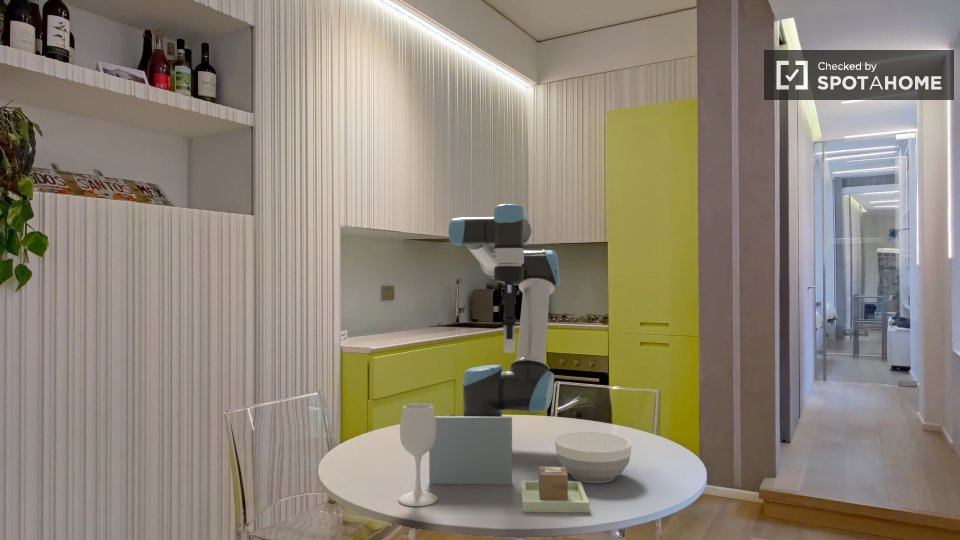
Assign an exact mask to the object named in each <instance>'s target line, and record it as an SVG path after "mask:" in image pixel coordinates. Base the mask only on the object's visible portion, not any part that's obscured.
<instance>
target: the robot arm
mask: <svg viewBox="0 0 960 540" xmlns="http://www.w3.org/2000/svg"><path fill="white" fill-rule="evenodd" d="M493 211H494V212H493V216H487V217H486V216H483V217H481V216H480V217H477V216H475V217H474V216H473V217H472V216H471V217H467V216H466V217H464V216H462V217H455V218H452V219H451V220H450V221H449V224H448V229H447V230H448V233H447V234H448V239H449V243H450V244H451V245H454V246H460V247H461V246H465V247H466V248H467V250H468V251H469V252H470V253H471V254H472V255H473V256H474V258H475V259H476V260H477V261H478V262H479V266H480V268H481V270H482V272H483V273H484V274H485V275H486V276H487V277H489V278H490V279H492V280H494V281H496V282H499V283H501V284H502V285H503V287H501V288H500V292H501V300H502V304H503V314H502V315H503V317H502V318H503V321H501V326H503V353H512V354H513V353H516V359H515V360H514V361H512V362H511V363H510V370H503V367H502V365H501V364H487V365H480V366H475V367H474V366H473V367H470V368H468V369H465V372H464V373H463V379H462V381H463V382H462V383H463V384H462V391H463V392H462V395H463V396H462V399H463V400H462V402H463V404H462V405H463V406H462V409H463V410H462V411H463V413H462V414H463V415H462V416H494V417H503V411H512V412H513V411H515V412H529V413H535V412H537V413H539V412H540V413H541V412H546V411H547V410H548V409H549V408H550V405H551V402H552V398H553V393H554V383H555V377H554V376H555V375H554V372H552V371H550V366H549V365H548V364H547V363H546V349H547V333H548V323H549V322H548V321H549V309H550V307H549V306H550V295H552V294H553V293H554V292H555V288H556V287H557V286H560V285H561V275H560V274H561V273H560V267H559V258H558V254H557V252H556V251H555V250H552V249H544V248H543V249H541V250H540V249H528V250H527V249H524V244H526V243H527V242H528V241H529V240H530V238H531V236H532V232H533V231H532V227H531V224H530V222H529V221H528V220H527V219H526V218H525V215H524V207H523V206H522V205H520V204H515V203H510V204H509V203H508V204H507V203H504V204H497V205H496V206H494V209H493ZM516 286H518V289H519V291H521V293H522V297H521V309H520V319H519V329H518V330H519V331H518V341H517V342H518V343H517V350H516V321H517V317H516V316H515V313H516V312H515V310H516V309H515V308H516V307H515V306H516V305H515V304H517V294H518V289H517V288H516Z"/></svg>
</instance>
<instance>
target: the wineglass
mask: <svg viewBox="0 0 960 540" xmlns="http://www.w3.org/2000/svg"><path fill="white" fill-rule="evenodd" d="M435 416H436V414H435V410H434V406H433V405H432V404H430V403H423V402H422V403H421V402H420V403H418V402H416V403H414V402H413V403H409V404H405V405H403V407H402V411H401V416H400V422H399V438H400V442H401V445H402V448H404V450H405V451H407V452H408V453H409V454H411V455H412V456H413V458H414V461H415V486H414V487H415V488H414V491H410V492H407V493H404V494H403V495H401V496H400V497H399V498H398V502H399V504H401V505H403V506H407V507H426V506H430V505H432V504H435V503H436V502H437V501H438V496H437V495H435V494H434V493H431V492H429V491H423V490H422V485H421V463H422V462H421V461H422V458H423V456H424V455H426V454H427V453H428V452H429V450H430V449H431V448H432V446H433V445H434V443H435V439H436V419H435Z"/></svg>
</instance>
